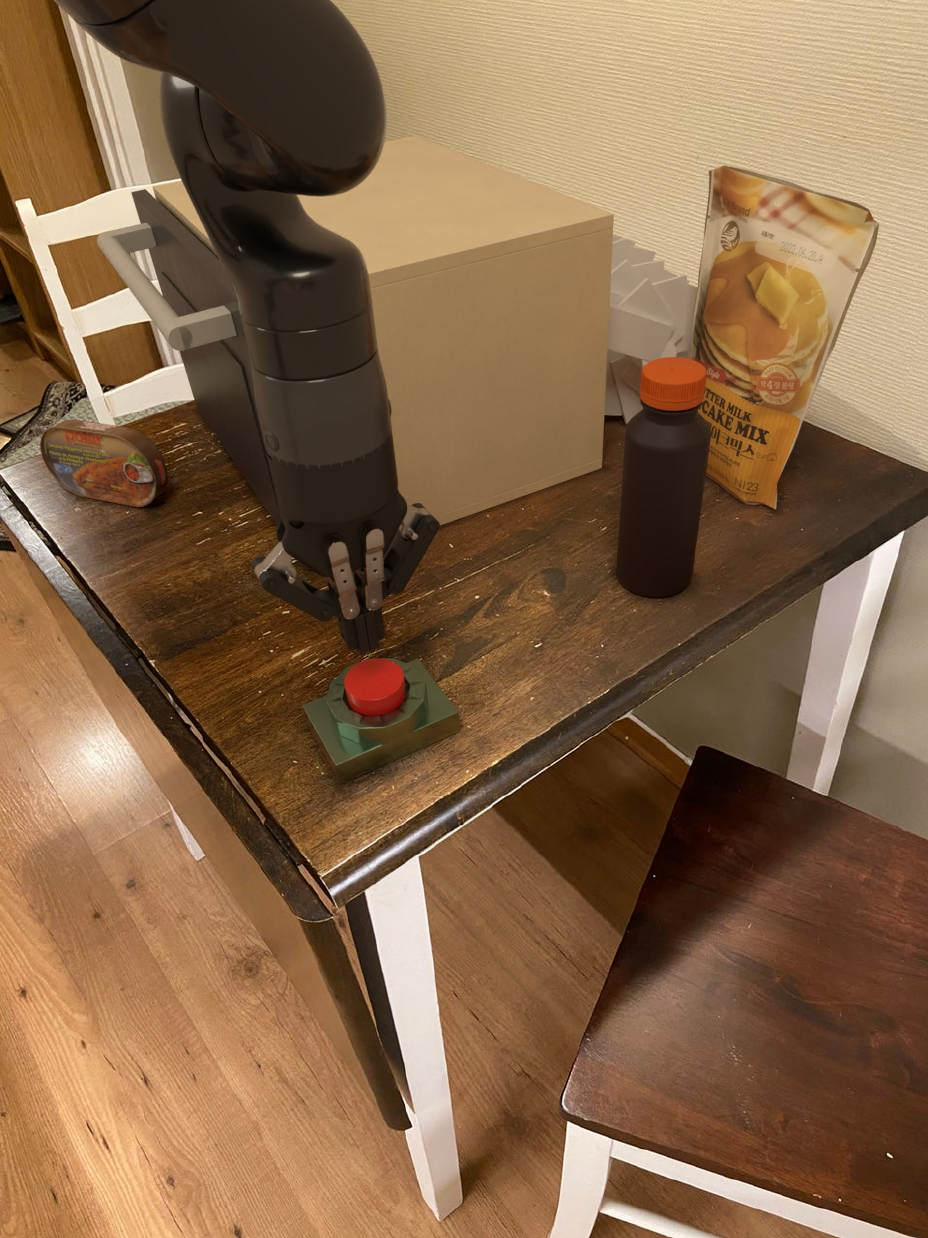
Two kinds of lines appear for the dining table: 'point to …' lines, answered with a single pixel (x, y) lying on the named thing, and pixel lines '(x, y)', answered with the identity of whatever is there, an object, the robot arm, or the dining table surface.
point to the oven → (475, 321)
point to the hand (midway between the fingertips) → (364, 645)
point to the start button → (375, 687)
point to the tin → (104, 462)
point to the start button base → (380, 724)
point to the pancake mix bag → (769, 316)
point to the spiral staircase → (643, 322)
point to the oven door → (198, 330)
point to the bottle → (663, 479)
